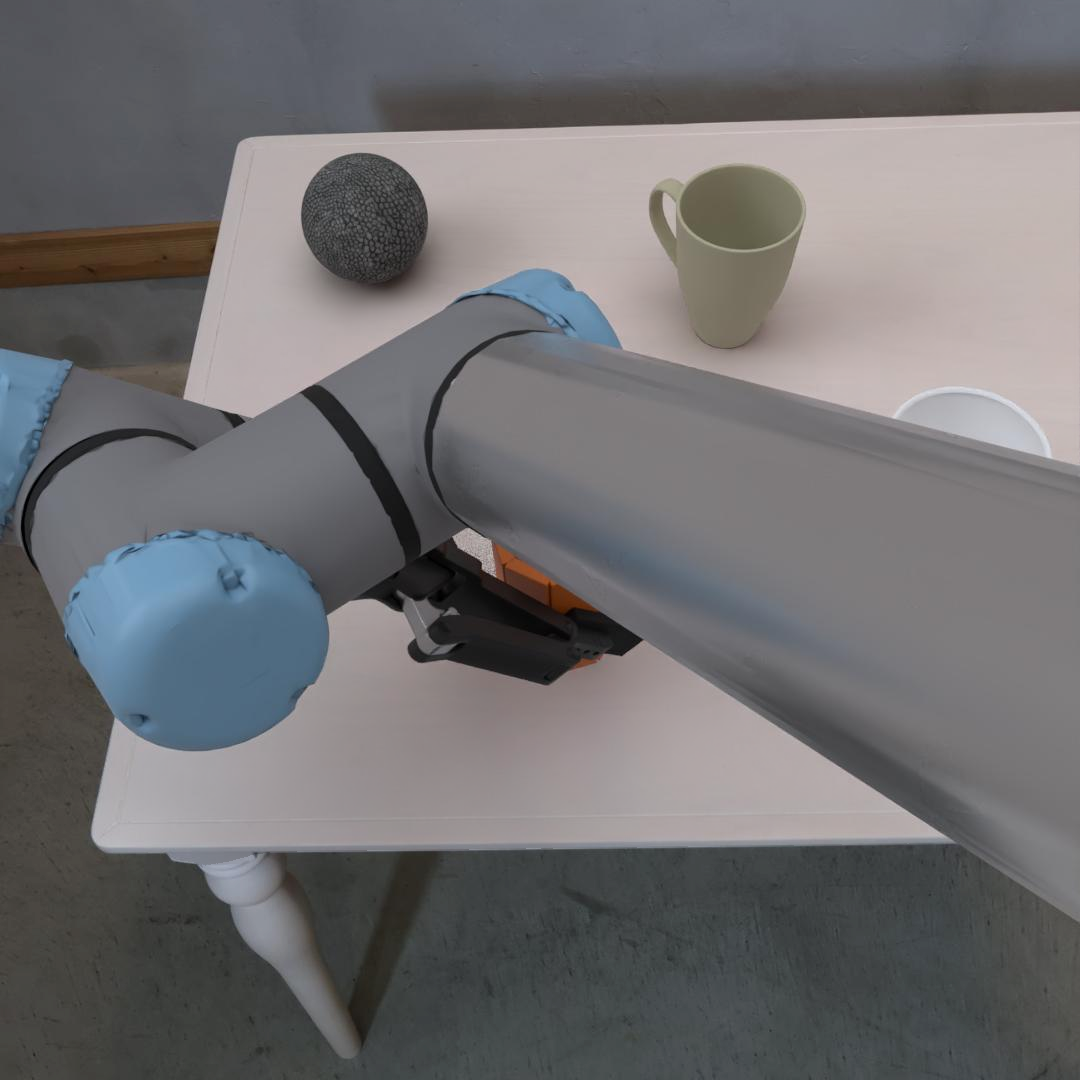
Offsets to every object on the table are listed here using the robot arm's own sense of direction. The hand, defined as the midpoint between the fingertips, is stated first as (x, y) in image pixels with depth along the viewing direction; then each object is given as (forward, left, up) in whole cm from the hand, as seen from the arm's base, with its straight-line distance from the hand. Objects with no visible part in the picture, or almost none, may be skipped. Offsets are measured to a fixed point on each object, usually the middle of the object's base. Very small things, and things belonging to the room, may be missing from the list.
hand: (614, 587), depth 69 cm
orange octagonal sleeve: (0, +4, -2) cm, 4 cm away
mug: (+24, -16, -7) cm, 30 cm away
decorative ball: (+39, +8, -7) cm, 40 cm away
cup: (0, -22, -7) cm, 24 cm away
